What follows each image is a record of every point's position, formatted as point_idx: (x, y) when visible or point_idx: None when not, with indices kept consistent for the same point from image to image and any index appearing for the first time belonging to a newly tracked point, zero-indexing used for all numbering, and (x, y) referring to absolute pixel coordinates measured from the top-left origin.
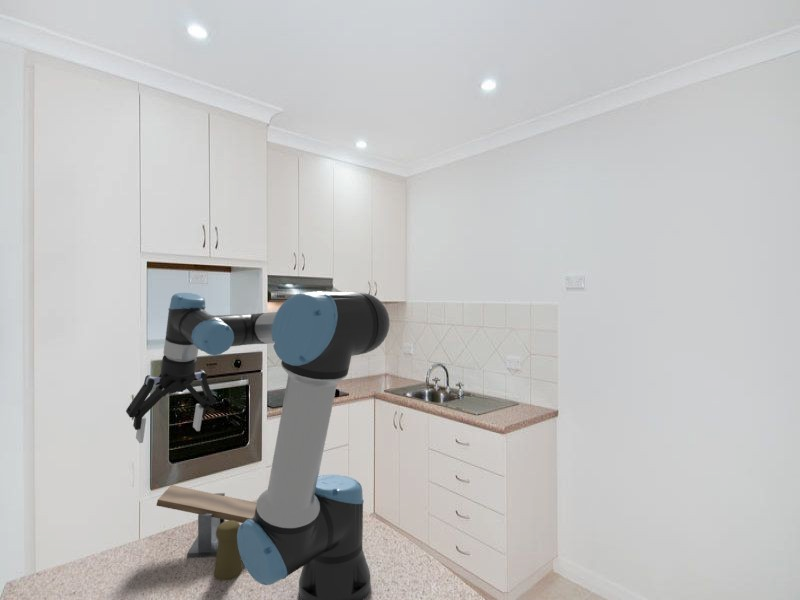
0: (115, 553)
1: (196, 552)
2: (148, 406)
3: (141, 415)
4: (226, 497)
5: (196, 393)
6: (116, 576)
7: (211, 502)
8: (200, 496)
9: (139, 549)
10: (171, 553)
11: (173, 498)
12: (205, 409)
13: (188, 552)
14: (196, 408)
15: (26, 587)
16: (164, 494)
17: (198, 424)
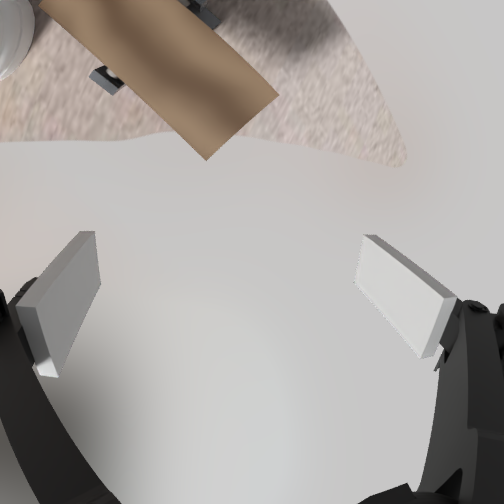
0: (294, 143)
1: (207, 10)
2: (490, 350)
3: (476, 309)
4: (97, 49)
5: (31, 453)
6: (326, 73)
7: (147, 31)
8: (158, 69)
9: (262, 122)
10: None
11: (236, 83)
12: (9, 307)
13: (218, 22)
14: (62, 346)
15: (397, 156)
16: (249, 113)
17: (78, 247)
